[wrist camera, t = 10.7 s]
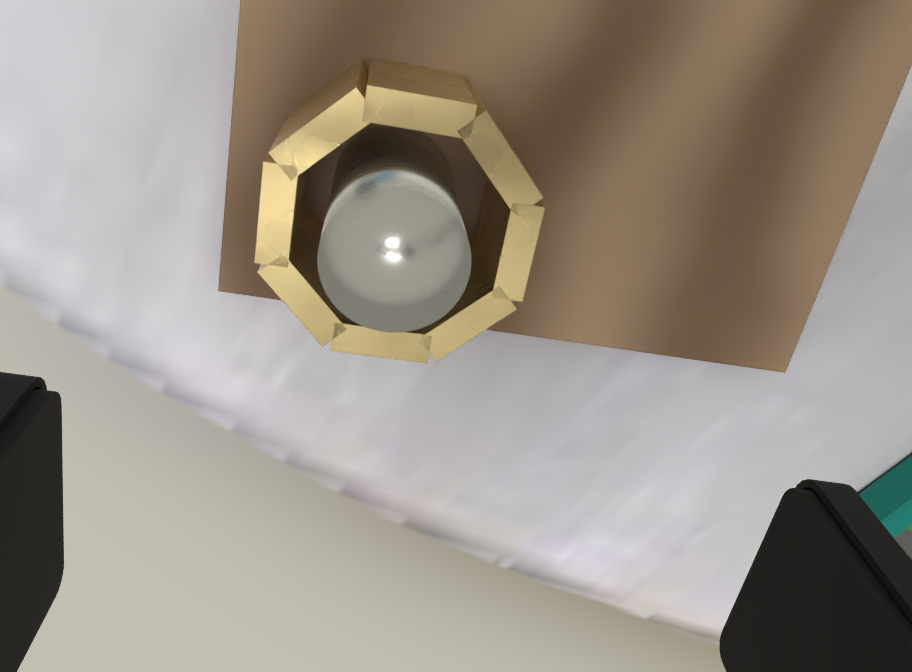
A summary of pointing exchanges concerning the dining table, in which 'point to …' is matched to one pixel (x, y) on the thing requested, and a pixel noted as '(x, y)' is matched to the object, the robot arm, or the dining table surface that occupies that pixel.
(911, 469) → the digital multimeter
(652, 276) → the board
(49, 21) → the dining table surface
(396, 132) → the piston post
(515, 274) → the ring
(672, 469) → the dining table surface
